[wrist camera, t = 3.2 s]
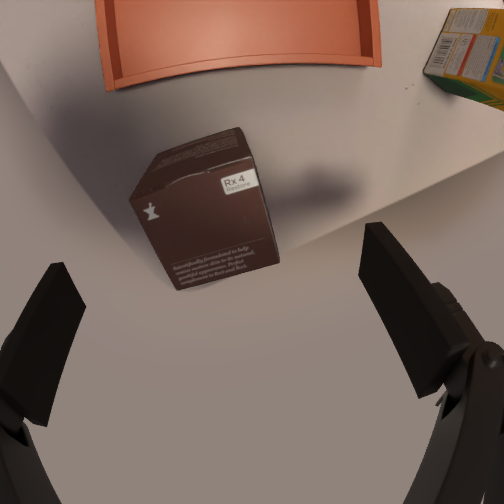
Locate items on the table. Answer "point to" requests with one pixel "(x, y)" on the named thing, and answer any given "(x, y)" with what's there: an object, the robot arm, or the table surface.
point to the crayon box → (471, 56)
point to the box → (206, 210)
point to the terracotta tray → (231, 35)
